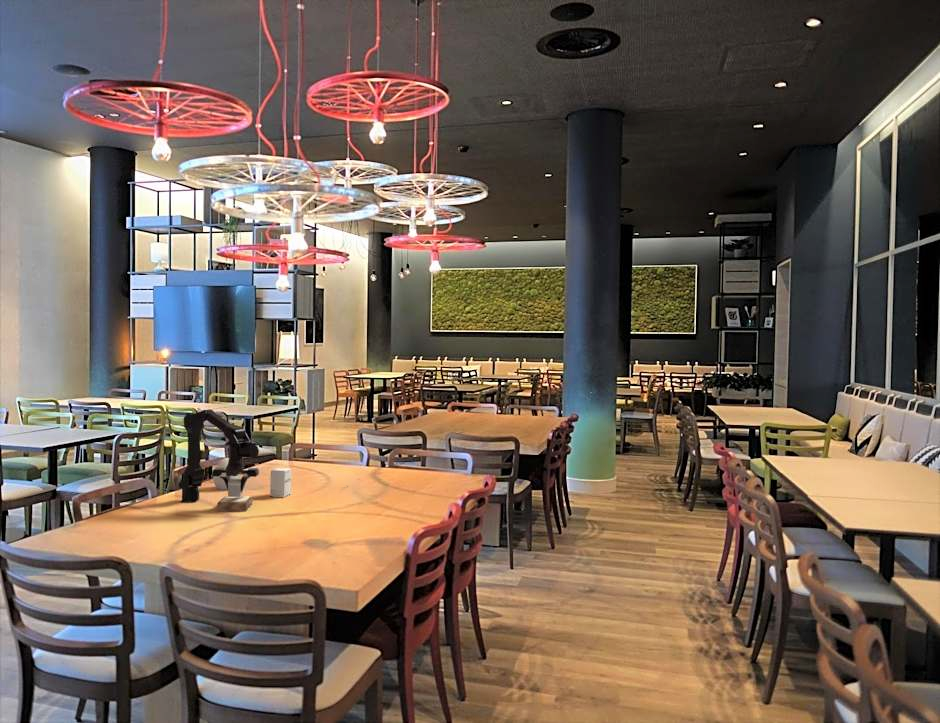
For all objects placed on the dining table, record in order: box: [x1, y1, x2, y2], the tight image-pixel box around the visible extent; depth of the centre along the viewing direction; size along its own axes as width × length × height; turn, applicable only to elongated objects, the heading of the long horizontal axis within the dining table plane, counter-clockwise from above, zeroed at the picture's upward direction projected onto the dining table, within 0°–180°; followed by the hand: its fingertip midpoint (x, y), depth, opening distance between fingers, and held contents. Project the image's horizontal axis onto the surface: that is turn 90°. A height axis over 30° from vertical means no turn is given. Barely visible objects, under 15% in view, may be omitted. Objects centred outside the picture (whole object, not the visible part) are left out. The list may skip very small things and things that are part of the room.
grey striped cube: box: [227, 477, 244, 497], centre depth 305 cm, size 5×5×7 cm
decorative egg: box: [212, 457, 241, 491], centre depth 345 cm, size 12×12×15 cm
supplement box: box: [269, 467, 292, 498], centre depth 331 cm, size 7×7×13 cm
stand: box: [216, 495, 253, 512], centre depth 305 cm, size 12×12×4 cm
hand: (235, 491), depth 305 cm, fingers closed on grey striped cube, 5 cm apart
